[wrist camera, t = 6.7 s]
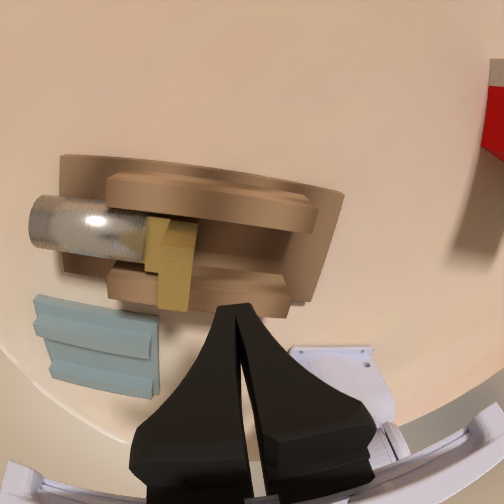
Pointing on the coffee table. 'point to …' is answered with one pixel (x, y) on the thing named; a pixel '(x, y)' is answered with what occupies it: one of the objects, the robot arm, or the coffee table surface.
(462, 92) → the coffee table surface
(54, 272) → the coffee table surface
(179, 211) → the socket block
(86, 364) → the rack
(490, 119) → the puzzle toy
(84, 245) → the shiny metal cylinder
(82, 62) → the coffee table surface
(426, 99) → the coffee table surface
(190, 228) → the tan blocky piece
